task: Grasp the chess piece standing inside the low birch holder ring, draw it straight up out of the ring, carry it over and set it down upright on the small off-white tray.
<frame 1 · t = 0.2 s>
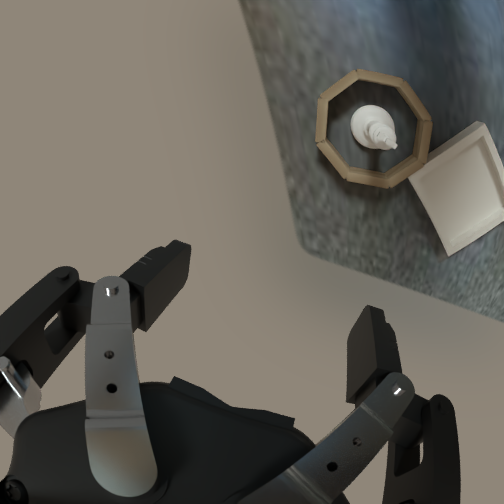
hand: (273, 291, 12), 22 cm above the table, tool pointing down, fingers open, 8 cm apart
holder ring: (372, 126, 25), on the table
tray: (463, 187, 24), on the table
chess piece: (372, 126, 25), resting in holder ring
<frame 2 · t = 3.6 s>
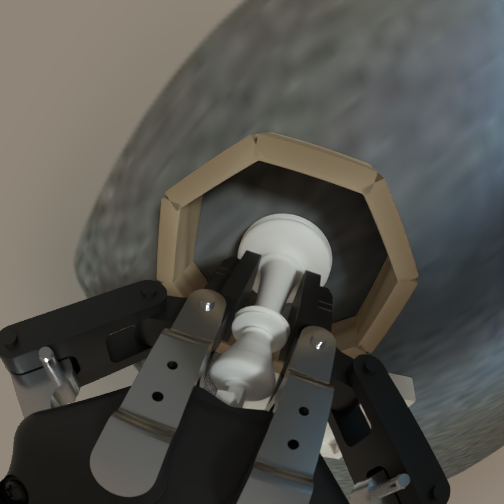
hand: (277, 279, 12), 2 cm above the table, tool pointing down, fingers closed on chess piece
holder ring: (285, 258, 14), on the table
tray: (309, 403, 19), on the table
chess piece: (285, 256, 14), resting in holder ring, touching gripper
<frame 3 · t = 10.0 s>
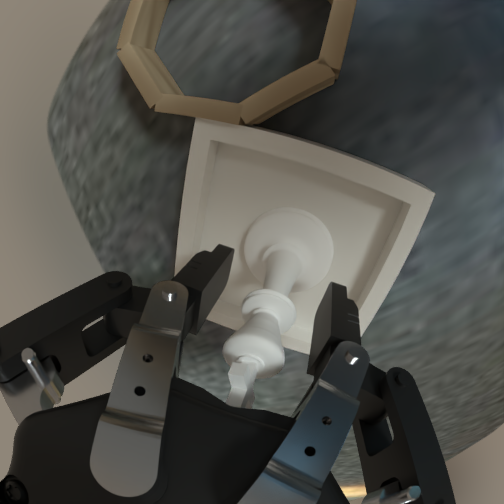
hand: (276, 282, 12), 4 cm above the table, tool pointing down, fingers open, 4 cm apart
holder ring: (237, 22, 11), on the table
tray: (289, 243, 16), on the table
chess piece: (289, 248, 15), point 1 cm above the table, touching tray
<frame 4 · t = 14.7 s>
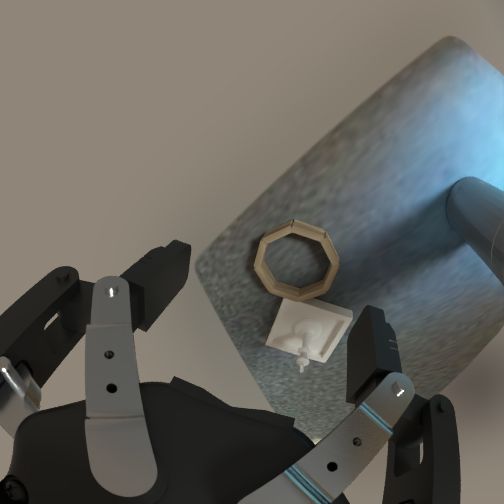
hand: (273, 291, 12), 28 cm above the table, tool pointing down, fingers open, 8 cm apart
holder ring: (297, 258, 42), on the table
tray: (308, 325, 47), on the table
chess piece: (308, 328, 46), point 1 cm above the table, touching tray
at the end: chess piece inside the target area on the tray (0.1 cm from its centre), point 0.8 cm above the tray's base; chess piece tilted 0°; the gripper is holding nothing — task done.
